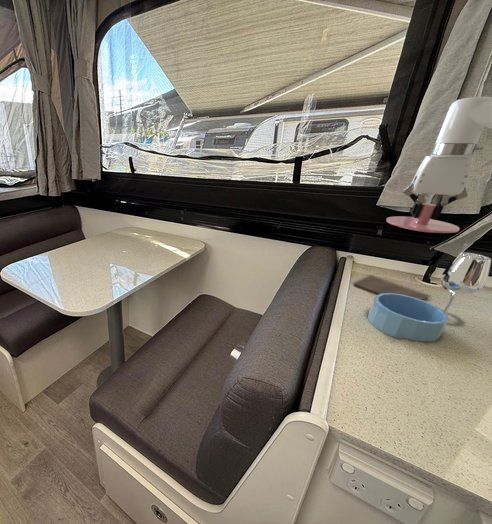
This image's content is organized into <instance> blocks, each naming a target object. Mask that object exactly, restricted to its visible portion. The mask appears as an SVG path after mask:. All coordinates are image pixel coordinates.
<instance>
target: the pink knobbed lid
mask: <svg viewBox="0 0 492 524" xmlns="http://www.w3.org/2000/svg"><path fill="white" fill-rule="evenodd" d="M422 205H423V206H422V208H421V211H420V213H419V216H418V218H414V217H412V216H403V215H402V216H400V215H399V216H395V215H394V216H389V217H386V219H385V221H386V223H388V224H390V225H392V226H395V227H398V228H402V229H406V230H411V231H416V232H422V233H431V234H453V233H458V232H459V231H460V230H461V228H460V227H459V226H458V225H455V224H453V223H449V222H446V221H442V220H437V219H435V220H432V219H431V217H432V215H433V212H434V210H435V208H436V205H435V204H432V203H422Z"/></svg>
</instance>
